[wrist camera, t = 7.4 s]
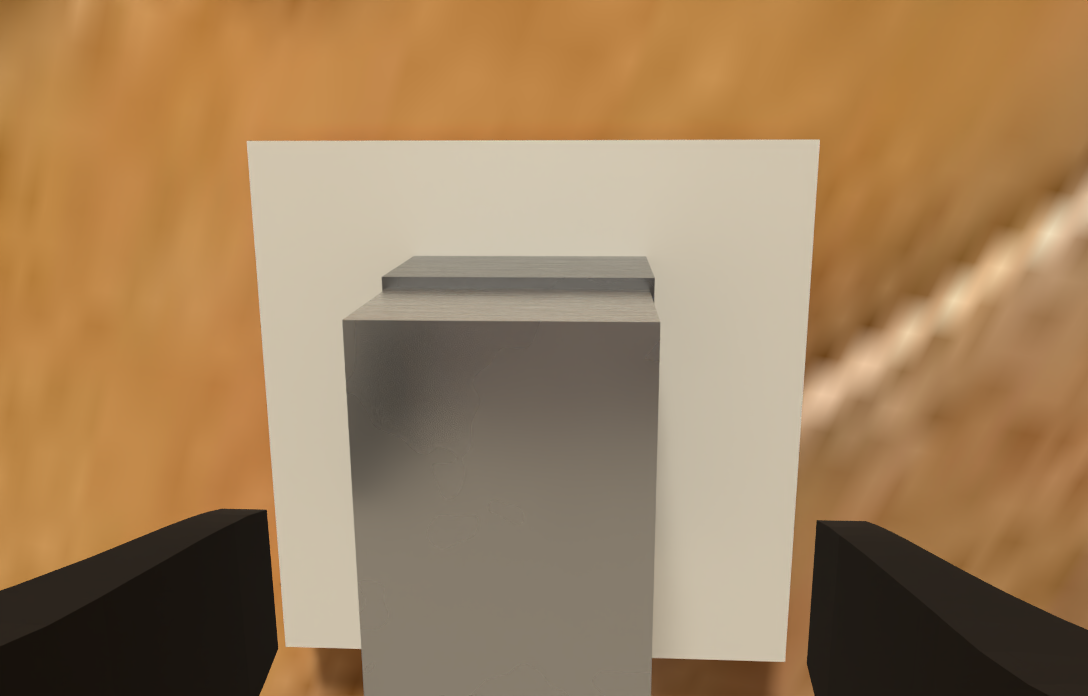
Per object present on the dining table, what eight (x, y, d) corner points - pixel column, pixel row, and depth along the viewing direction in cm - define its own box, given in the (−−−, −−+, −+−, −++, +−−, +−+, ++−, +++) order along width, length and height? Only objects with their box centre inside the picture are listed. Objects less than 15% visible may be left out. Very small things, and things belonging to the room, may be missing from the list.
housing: (639, 557, 21) (656, 723, 15) (425, 553, 21) (359, 713, 15) (646, 256, 19) (667, 308, 13) (414, 255, 19) (335, 306, 13)
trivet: (770, 621, 23) (785, 662, 21) (308, 608, 23) (285, 646, 22) (800, 139, 20) (820, 139, 18) (276, 140, 21) (246, 141, 19)
